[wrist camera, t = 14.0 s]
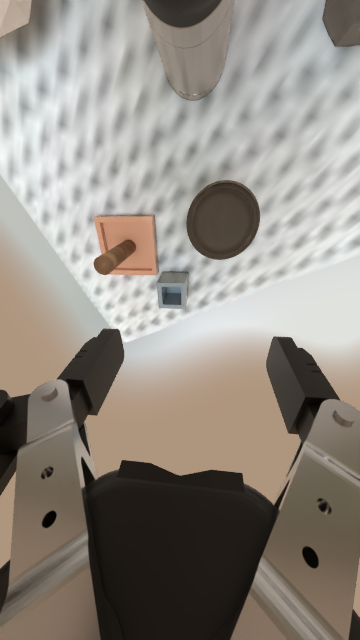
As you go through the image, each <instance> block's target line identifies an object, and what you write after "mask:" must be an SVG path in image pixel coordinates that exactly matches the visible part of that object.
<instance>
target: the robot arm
mask: <svg viewBox="0 0 360 640" xmlns="http://www.w3.org/2000/svg"><path fill="white" fill-rule="evenodd" d="M142 3H143V6H144V9H145V12H146V15H147V18H148V21H149V24H150V27H151V30H152V33H153V36H154V39H155V42H156V45H157V48H158V51H159V54H160V57H161V60H162V63H163V66H164V69H165V72H166V75H167V78H168V80H169V82H170V84H171V86H172V88H173V89H174V90H175V92H176V93H177V94H179V95H180V96H181V97H183V98H185V99H188V100H197V99H201V98H203V97H204V96H206V95H207V94H209V93H210V92H211V91H212V90H213V88H214V87H215V86H216V84H217V83H218V81H219V79H220V77H221V74H222V71H223V68H224V64H225V59H226V52H227V46H228V40H229V33H230V27H231V20H232V13H233V7H234V0H142ZM123 360H124V349H123V344H122V339H121V335H120V331H119V330H118V329H103V330H102V331H101V332H100V334H99V335H98V336H97V337H93V338H92V339H91V340H89V341H88V342H86V343H85V344H84V345H83V347H82V348H81V349H80V352H78V353H77V354H76V355H75V358H73V359H72V361H71V362H70V363H69V364H68V366H67V367H66V368H65V369H64V371H63V372H62V373H61V374H60V376H59V377H58V378H57V379H56V380H51V381H48V382H46V383H44V384H42V385H40V386H38V387H37V388H36V389H35V390H34V391H33V392H32V393H31V394H28V395H23V396H18V397H13V398H10V396H9V395H8V393H7V392H6V391H4V390H0V495H1V494H2V492H3V491H4V489H5V487H6V486H7V484H8V483H9V481H10V479H11V478H12V476H13V475H14V473H15V471H16V484H15V499H14V514H13V529H12V544H11V558H10V560H9V561H8V562H7V563H6V564H5V565H4V566H3V567H2V568H1V569H0V640H360V617H359V616H358V615H357V613H356V612H355V611H354V609H353V603H354V595H355V588H356V580H357V572H358V565H359V558H360V411H358V410H357V409H356V408H355V407H353V406H351V405H350V404H348V403H346V402H343V401H340V399H339V397H338V396H337V394H336V393H335V391H334V390H333V388H332V386H331V385H330V383H329V382H328V380H327V379H326V377H325V376H324V374H323V373H322V371H321V369H320V368H319V366H317V363H316V362H315V360H314V359H313V357H312V355H310V354H309V353H308V352H307V351H305V350H304V349H303V348H297V346H296V344H295V343H294V341H293V339H292V338H290V337H273V339H272V342H271V346H270V349H269V353H268V357H267V362H266V367H267V372H268V375H269V378H270V381H271V384H272V387H273V390H274V393H275V396H276V398H277V402H278V404H279V407H280V410H281V413H282V416H283V419H284V422H285V425H286V428H287V431H288V433H290V434H299V437H300V439H301V442H300V444H299V446H298V448H297V451H296V453H295V455H294V458H293V460H292V462H291V465H290V467H289V470H288V472H287V474H286V476H285V479H284V481H283V483H282V485H281V487H280V490H279V492H278V493H277V496H276V498H275V500H274V502H273V504H272V503H271V502H270V501H269V500H268V499H267V498H266V497H265V496H264V495H262V494H261V493H259V492H258V491H257V490H255V489H254V488H252V487H250V486H249V485H246V484H244V483H243V475H242V473H235V472H226V471H217V470H208V471H203V472H198V473H193V474H188V475H182V476H179V475H175V474H173V473H171V472H169V471H167V470H165V469H162V468H160V467H158V466H156V465H153V464H151V463H144V462H135V461H126V460H122V462H121V465H120V468H119V470H115V471H112V472H109V473H107V474H105V475H103V476H101V477H99V476H98V473H97V470H96V467H95V464H94V461H93V456H92V451H91V447H90V443H89V439H88V433H87V430H86V424H85V422H84V421H85V419H86V417H87V415H97V414H98V412H99V410H100V408H101V406H102V404H103V402H104V400H105V398H106V396H107V393H108V392H109V389H110V387H111V385H112V383H113V381H114V379H115V377H116V375H117V373H118V371H119V369H120V367H121V364H122V363H123Z"/></svg>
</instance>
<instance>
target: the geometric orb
mask: <svg viewBox="0 0 360 640" xmlns="http://www.w3.org/2000/svg"><path fill="white" fill-rule="evenodd" d="M31 2H32V0H0V37H2V36H4V35H6V34H8V33H10V32H12V31H14V30H15V29H17V28H19V27H21V26H23V25H25V24H27V23H29V18H30V10H31Z"/></svg>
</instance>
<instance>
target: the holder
mask: <svg viewBox="0 0 360 640" xmlns="http://www.w3.org/2000/svg"><path fill="white" fill-rule="evenodd" d="M157 290H158V302H159V308H175V309H186V304H187V298H188V272H162V274H161V276H160V278H159V280H158V282H157Z"/></svg>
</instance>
